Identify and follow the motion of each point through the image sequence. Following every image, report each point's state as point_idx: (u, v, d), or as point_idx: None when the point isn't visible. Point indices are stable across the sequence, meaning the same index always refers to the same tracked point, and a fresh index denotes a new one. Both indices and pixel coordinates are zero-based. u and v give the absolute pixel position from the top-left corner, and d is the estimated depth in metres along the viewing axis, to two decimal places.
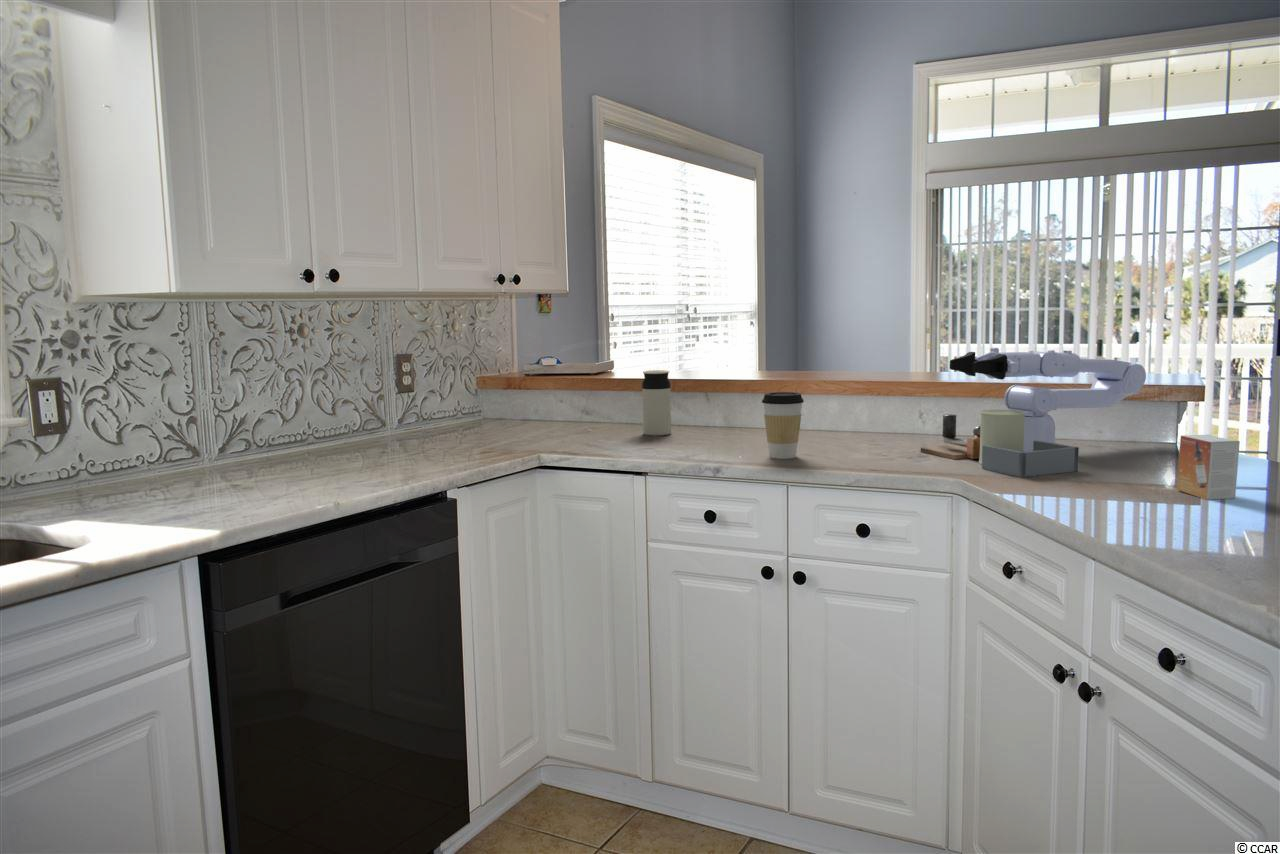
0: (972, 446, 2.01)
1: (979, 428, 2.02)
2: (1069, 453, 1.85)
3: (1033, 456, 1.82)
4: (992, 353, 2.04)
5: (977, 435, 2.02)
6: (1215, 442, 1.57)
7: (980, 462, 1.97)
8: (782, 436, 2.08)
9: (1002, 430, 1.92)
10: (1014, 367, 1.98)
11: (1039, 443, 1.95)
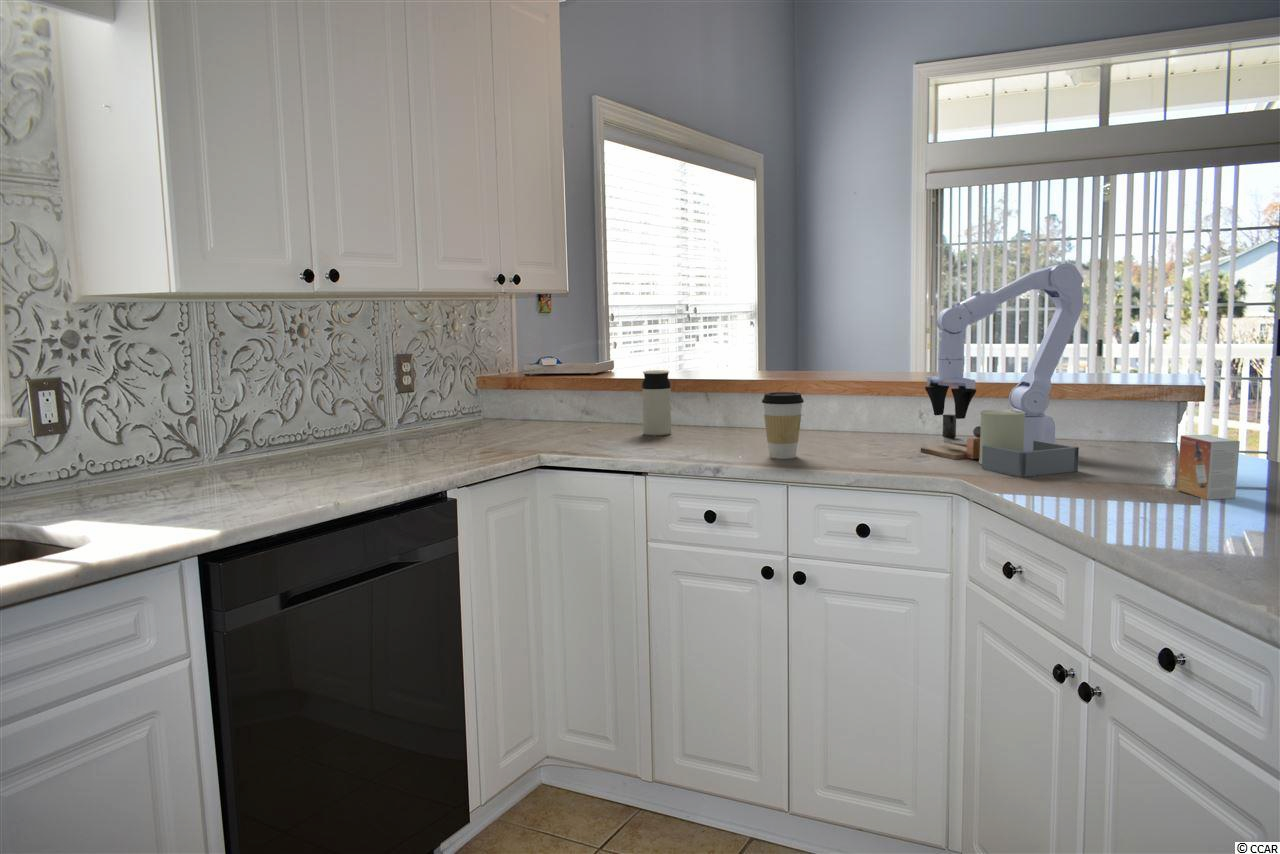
0: (972, 446, 2.01)
1: (979, 428, 2.02)
2: (1069, 453, 1.85)
3: (1033, 456, 1.82)
4: None
5: (977, 435, 2.02)
6: (1215, 442, 1.57)
7: (980, 462, 1.97)
8: (782, 436, 2.08)
9: (1002, 430, 1.92)
10: (971, 384, 2.04)
11: (1039, 443, 1.95)
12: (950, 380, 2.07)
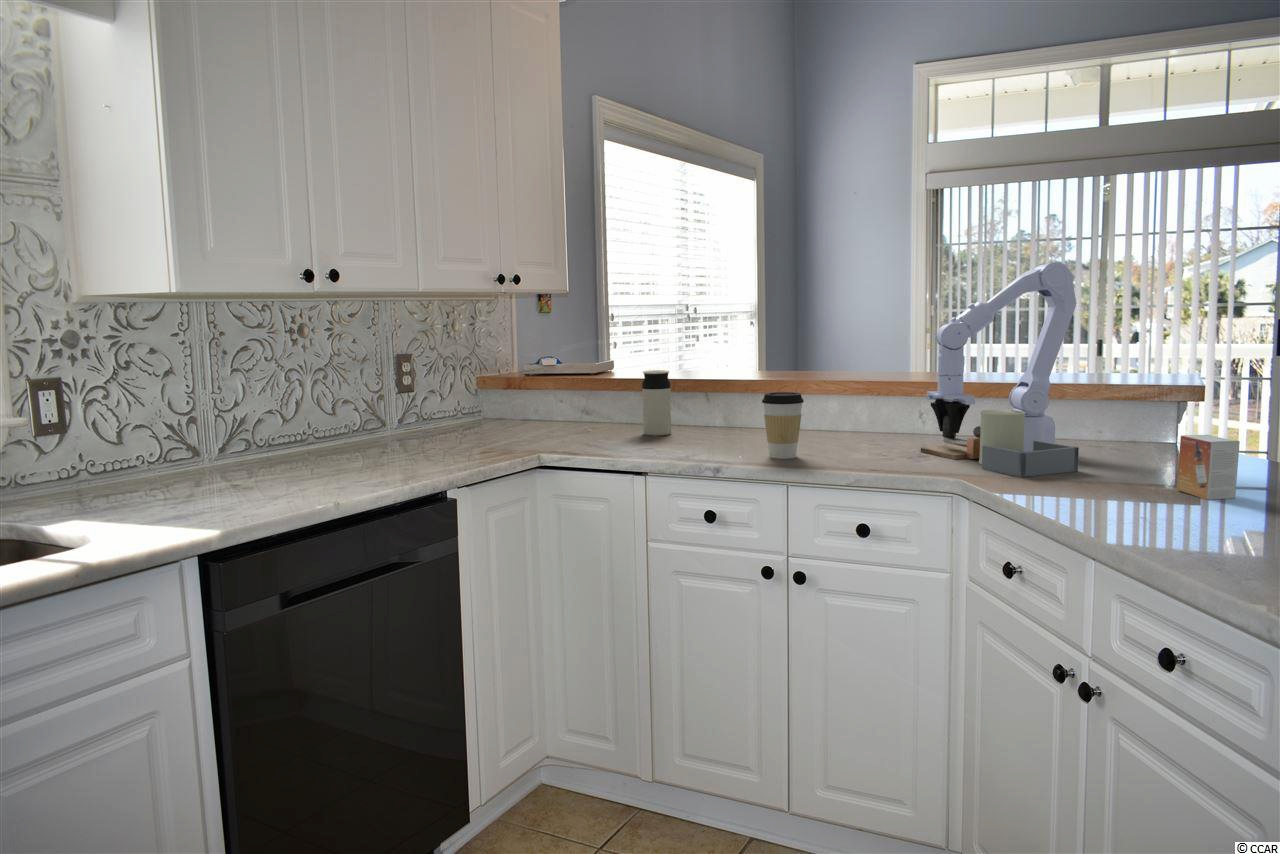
0: (972, 446, 2.01)
1: (979, 428, 2.02)
2: (1069, 453, 1.85)
3: (1033, 456, 1.82)
4: None
5: (977, 435, 2.02)
6: (1215, 442, 1.57)
7: (980, 462, 1.97)
8: (782, 436, 2.08)
9: (1002, 430, 1.92)
10: (971, 400, 2.04)
11: (1039, 443, 1.95)
12: (950, 396, 2.07)
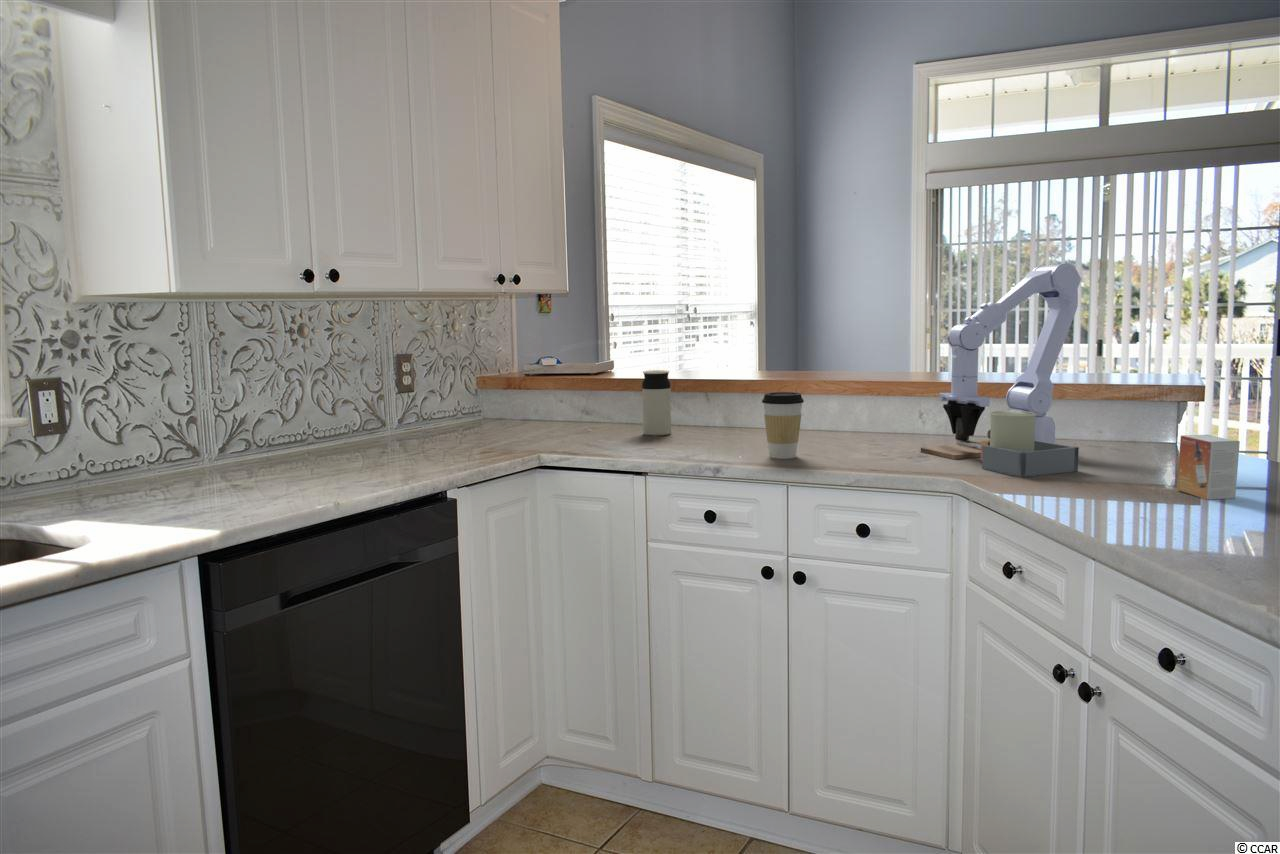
0: None
1: None
2: (1069, 453, 1.85)
3: (1033, 456, 1.82)
4: (954, 399, 2.06)
5: None
6: (1215, 442, 1.57)
7: None
8: (782, 436, 2.08)
9: (1012, 432, 1.89)
10: (986, 402, 2.00)
11: (1039, 443, 1.95)
12: (964, 398, 2.03)
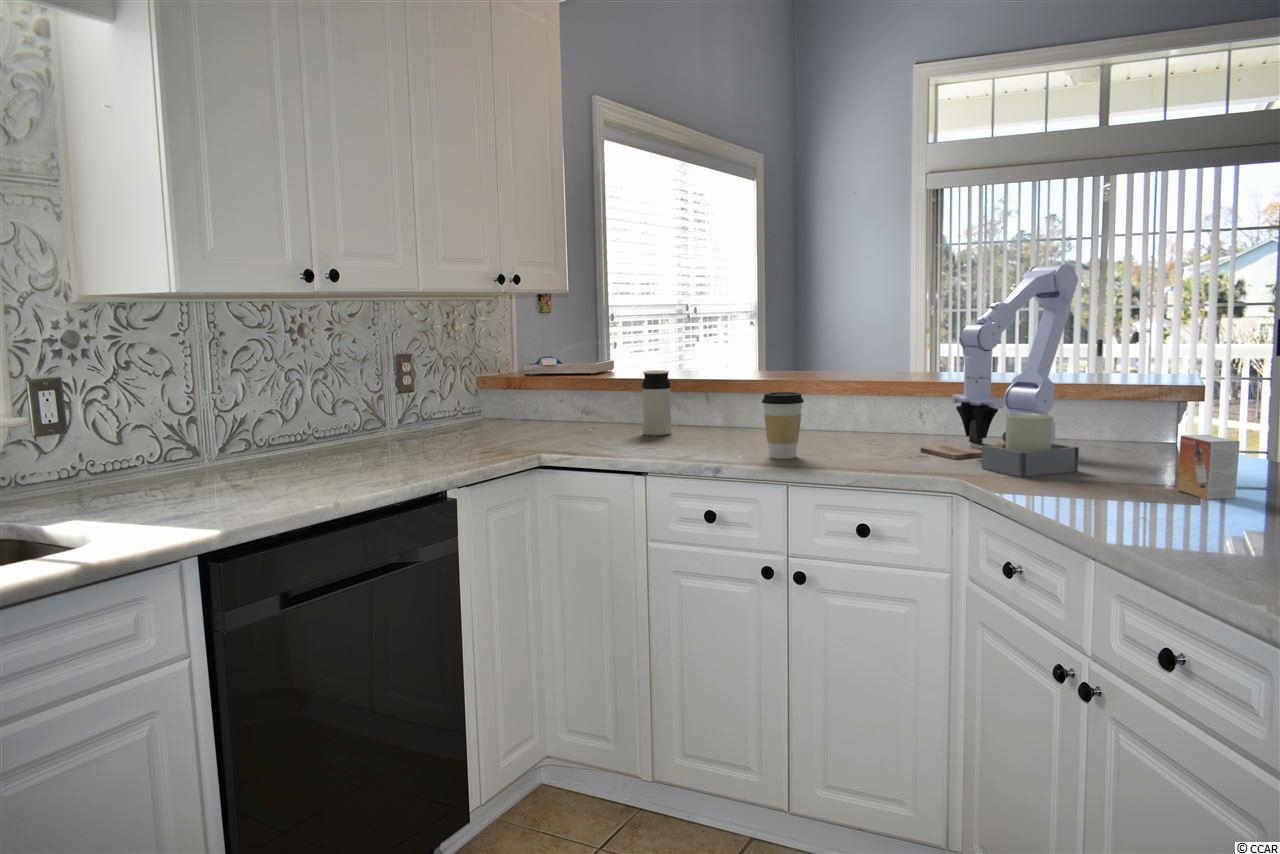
0: None
1: None
2: (1069, 453, 1.85)
3: (1033, 456, 1.82)
4: None
5: None
6: (1215, 442, 1.57)
7: None
8: (782, 436, 2.08)
9: (1029, 435, 1.85)
10: (1000, 404, 1.96)
11: None
12: (977, 399, 1.99)
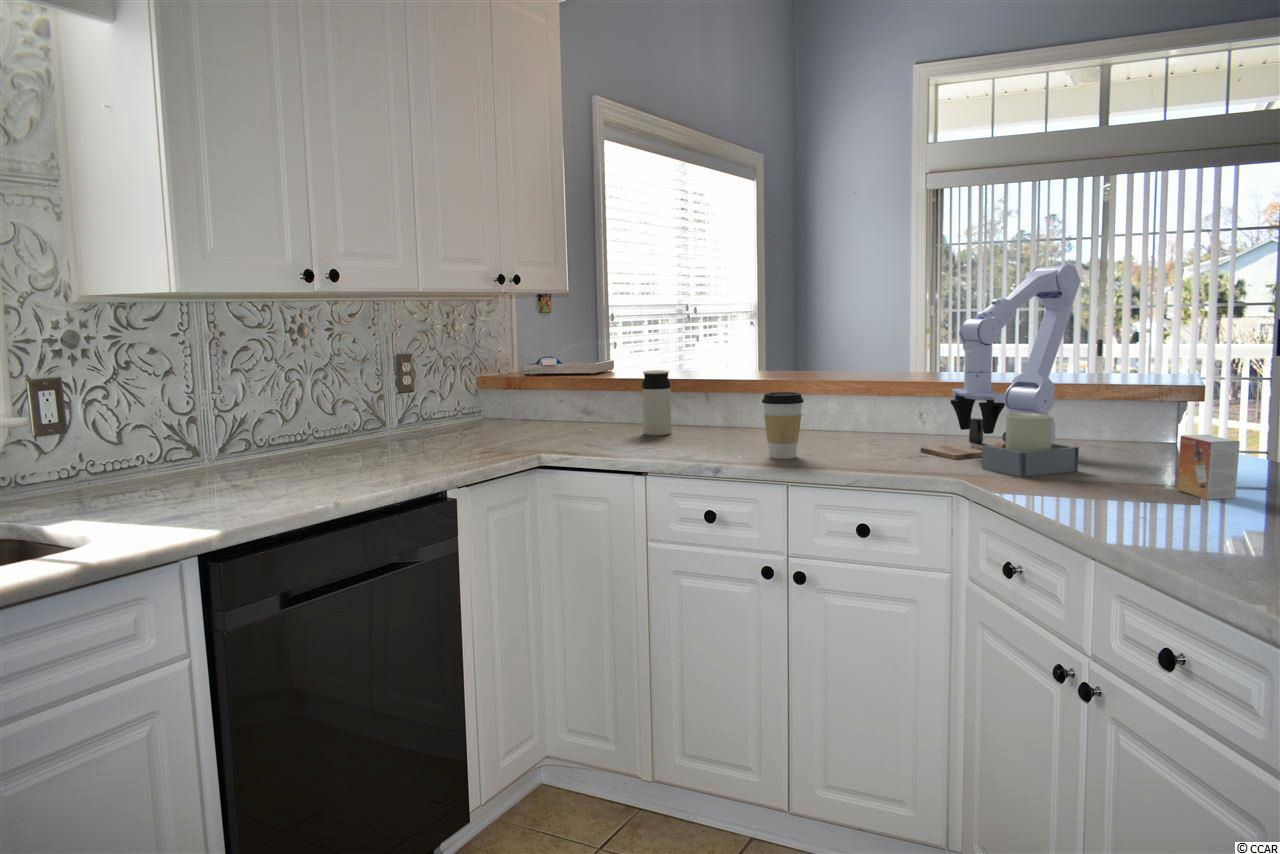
0: None
1: None
2: (1069, 453, 1.85)
3: (1033, 456, 1.82)
4: (967, 395, 2.01)
5: None
6: (1215, 442, 1.57)
7: None
8: (782, 436, 2.08)
9: (1029, 435, 1.85)
10: (1000, 398, 1.96)
11: None
12: (977, 394, 1.99)
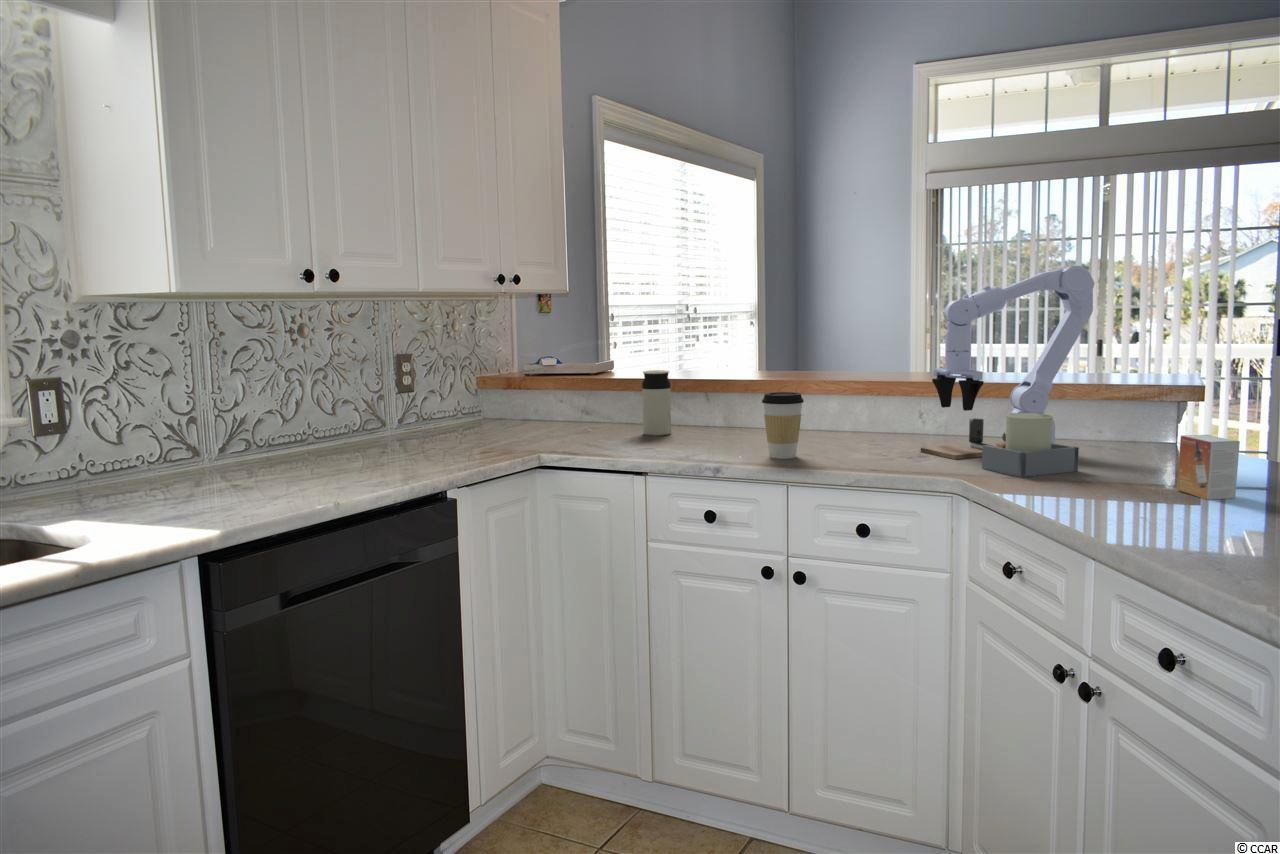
0: None
1: None
2: (1069, 453, 1.85)
3: (1033, 456, 1.82)
4: None
5: None
6: (1215, 442, 1.57)
7: None
8: (782, 436, 2.08)
9: (1029, 435, 1.85)
10: (979, 376, 2.04)
11: None
12: (957, 372, 2.07)
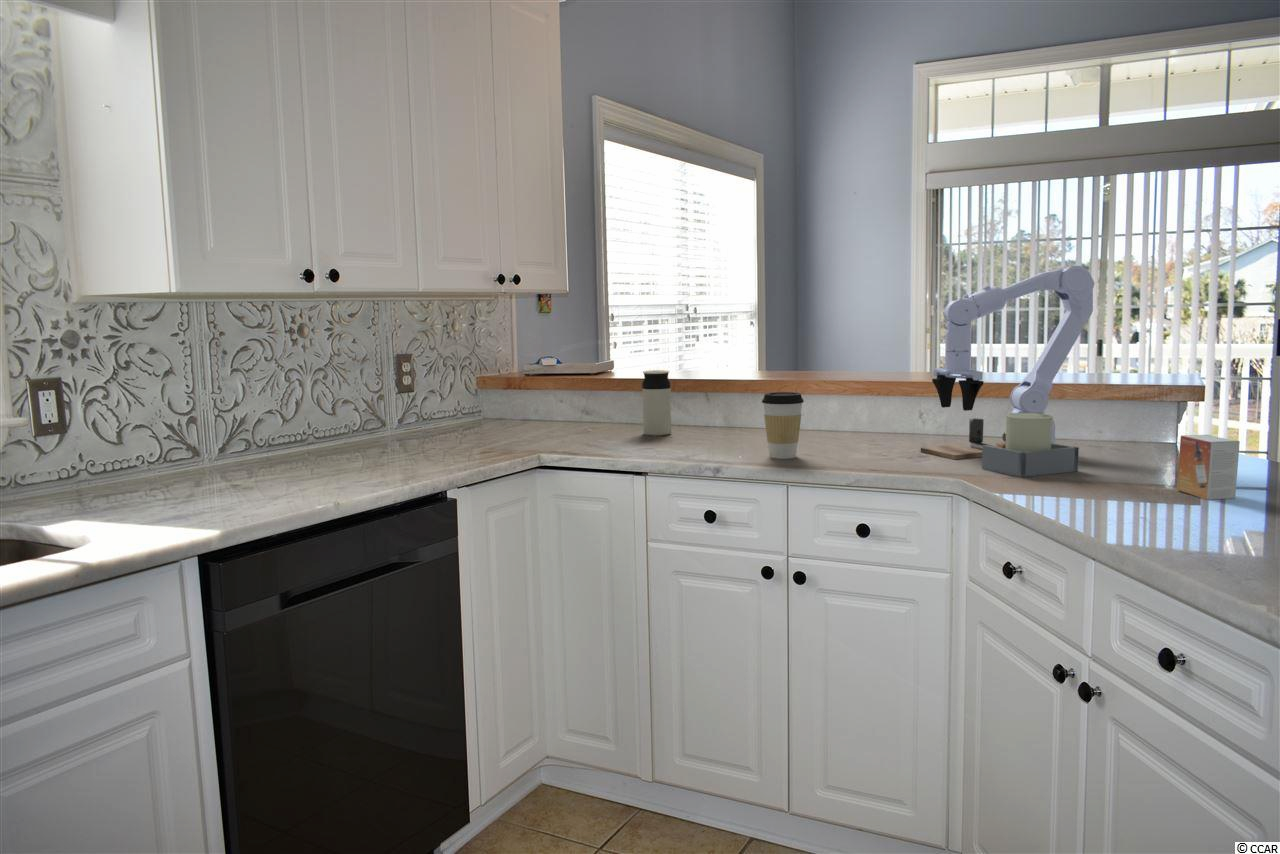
0: None
1: None
2: (1069, 453, 1.85)
3: (1033, 456, 1.82)
4: None
5: None
6: (1215, 442, 1.57)
7: None
8: (782, 436, 2.08)
9: (1029, 435, 1.85)
10: (979, 376, 2.04)
11: None
12: (957, 372, 2.07)
